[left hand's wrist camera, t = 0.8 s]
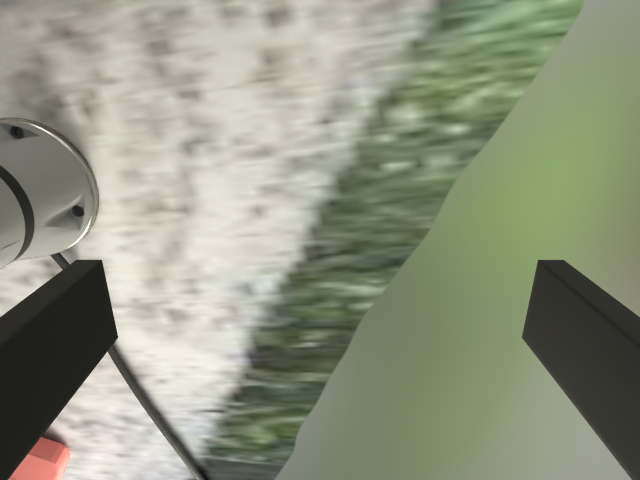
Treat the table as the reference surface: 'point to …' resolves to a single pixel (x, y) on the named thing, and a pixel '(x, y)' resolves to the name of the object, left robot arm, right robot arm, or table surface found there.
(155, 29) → the table surface
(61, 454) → the plaque
